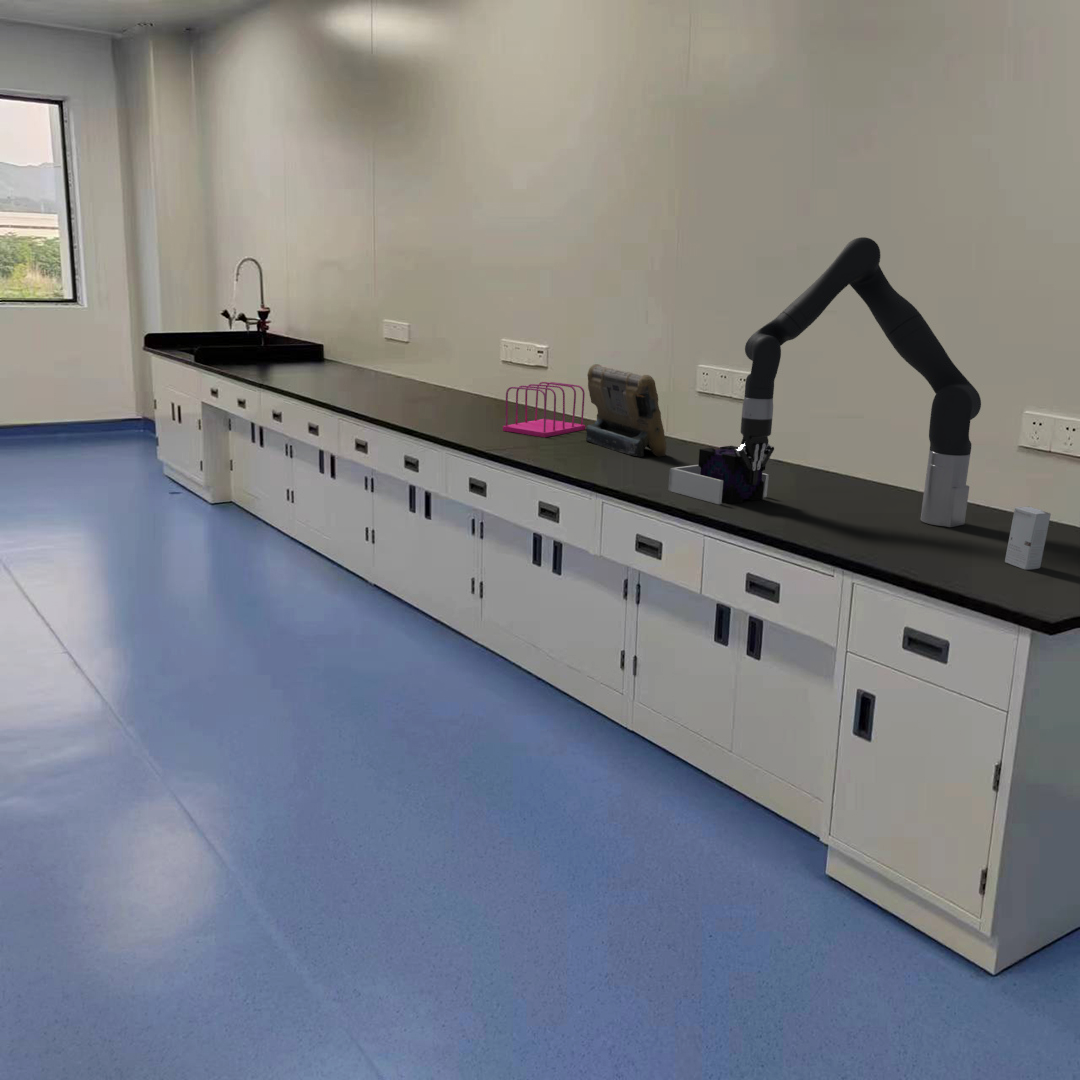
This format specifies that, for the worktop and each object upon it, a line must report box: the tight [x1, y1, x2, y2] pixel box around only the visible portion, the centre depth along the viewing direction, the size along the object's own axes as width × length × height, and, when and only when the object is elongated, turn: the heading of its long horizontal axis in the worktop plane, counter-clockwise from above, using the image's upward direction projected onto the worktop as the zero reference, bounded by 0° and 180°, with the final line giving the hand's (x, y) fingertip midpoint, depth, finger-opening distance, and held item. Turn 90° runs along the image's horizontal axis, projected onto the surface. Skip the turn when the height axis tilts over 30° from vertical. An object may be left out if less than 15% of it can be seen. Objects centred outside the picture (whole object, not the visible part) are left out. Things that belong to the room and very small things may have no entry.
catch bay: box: [667, 464, 770, 505], centre depth 291 cm, size 18×18×6 cm
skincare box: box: [1004, 505, 1052, 571], centre depth 233 cm, size 6×4×12 cm
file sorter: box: [502, 381, 586, 438], centre depth 379 cm, size 17×25×16 cm
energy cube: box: [697, 445, 767, 505], centre depth 287 cm, size 12×12×12 cm
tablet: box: [585, 363, 667, 458], centre depth 349 cm, size 33×14×25 cm, turn 35°
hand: (751, 484), depth 281 cm, fingers closed
